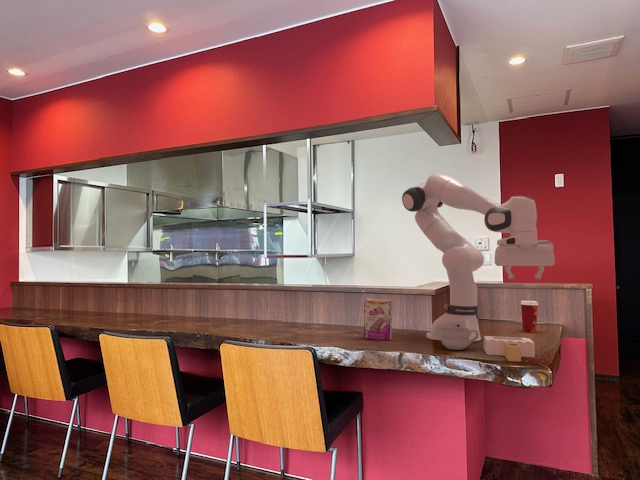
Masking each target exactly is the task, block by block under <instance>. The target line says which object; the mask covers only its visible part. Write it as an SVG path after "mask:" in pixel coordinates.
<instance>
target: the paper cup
mask: <svg viewBox="0 0 640 480" xmlns="http://www.w3.org/2000/svg"><path fill="white" fill-rule="evenodd" d="M520 302H521V303H520V308H521V309H520V310H521V324H522V325H521V326H522V332H524V333H531V334H532V333H533V334H534V333H537V326H538V324H537V323H538V322H537V321H538V308H539V303H538V301H535V300H521V301H520Z"/></svg>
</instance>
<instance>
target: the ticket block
mask: <svg viewBox="0 0 640 480" xmlns="http://www.w3.org/2000/svg"><path fill="white" fill-rule="evenodd" d="M505 342H517V343H518V344H519V345H520V346H521V358H523V357H524V358H536V355H535V354H536V353H535V352H536V349H535V347H536V346H535V345H536V343H535V342H534V341H533V340H532V339H531V338H528V337H511V336H510V337H509V336H493V335H483V350H485V351H484V353H485V352H486V353H485V354H486V355H487V354H488V355H490V356H503V357H505Z"/></svg>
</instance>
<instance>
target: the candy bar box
mask: <svg viewBox="0 0 640 480" xmlns="http://www.w3.org/2000/svg"><path fill="white" fill-rule="evenodd" d="M363 306H364V307H363V308H364V309H363V311H364V314H363V315H364V316H363V321H364V322H363V339H364V340H375V341H376V340H377V341H389V342H390V341H391V340H392V338H393V300H392V299H375V298H374V299H373V298H366V299H364V305H363Z"/></svg>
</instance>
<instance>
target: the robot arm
mask: <svg viewBox="0 0 640 480" xmlns="http://www.w3.org/2000/svg"><path fill="white" fill-rule="evenodd" d="M401 200H402V206H403V207H404V208H405V209H406V210H407V211H408V212H413V213H415V215H414V221H415V223H416V224H417V226H418V227H419V229H420V230H421V232H422V233H423V234H424V235H425V237H426V238H427V239H428V240H429V241H430V242H431V244H432V245H433V246H434V247H435V248H436V249H437V250H438V251H441V252H442V253H443V255H442V258H441V261H442V262H441V263H442V265H443V267H444V268H445V270H446V273H447V278H448V283H449V304H444V306H443V308H444V314H442V315H441V316H439V317H438V318H436V319H435V320H434V321H433V322H432V325H431V331H428V332H426V334H425V337H426V338H427V339H429V340H433V341H441V329H440V328H441V327H463V328H469V329H470V330H471V329H475V330H477V331H478V333H479V336H478V338H477V339H476V340H475V341H474V342H479V341H481V340H482V336H481V332H480V328H479V314H480V313H479V311H480V310H479V309H480V308H479V306H478V285H477V284H476V282H475V278H474V272H476V271H477V270H479V269H481V268H482V266H483V265H484V262H485V257H484V253H483V252H482V251H481V250H480V249H478V248H476V247H475V246H474V245H473V244H472V243H471V242H470V241H468V240H467V239H466V238H465V237H463V235H461V234H459V233H458V231H456V230H455V229H454V227H453V226H451V224H450V223H449V222H448V220H447V219H445V217H443V216H442V215H441V213H440V212H439V211H438V210H439V209H438V208H441V207H442V206H443V205H446V206H447V207H450V208H454V209H457V210H464V211H473V212H477V213H479V214H481V215H483V216H484V221H483V222H484V225H485V227H486V228H487V229H488V230H489V231H491V232H493V233H503V234H509V236H506V237H503V238H500V239H497V241H496V245H497V247H496V248H495V251H494V264H495V265H496V267H504V269H505V271H506V273H507V276H508V277H507V278H508V279H509V280H514V279H515V274H514V273H512V271H511V270H512V267H537V269H538V271H537V273H534V279H535V280H541V279H542V275H543V272H544V271H545V266H546V267H548V266H549V267H552V266H554V265H555V263H556V261H555V253H554V243H553V242H552V241H550V240H549V239H548V240H547V239H546V240H545V239H544V240H543V239H539V240H538V229H537V221H538V214H537V213H538V212H537V206H536V201H535V199H533V197H531V196H524V195H513V196H511V197H510V198H509V199H508V200H507V201H506V202H504V203H502V204H499V203H497V202H494V201H493V200H491V199H489V198H487V197H485V196H483V195H482V194H480V193H478V192H477V191H475V190H473V189H472V188H471V187H469V186H467V185H466V184H465V183H463V182H462V181H460V180H458V179H456V178H455V177H452V176H450V175H447V174H444V173H440V172H435V173H433V174H431V175H430V176H428V178H427V179H426V182H423V183H420V184H418V185H415V186H413V187H409V188H407V189H406V190H405V191H404V192H403V194H402V196H401ZM475 336H476V333H475V332H472V333H471V335H470V337H469V340H471V339H473V338H475Z"/></svg>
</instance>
